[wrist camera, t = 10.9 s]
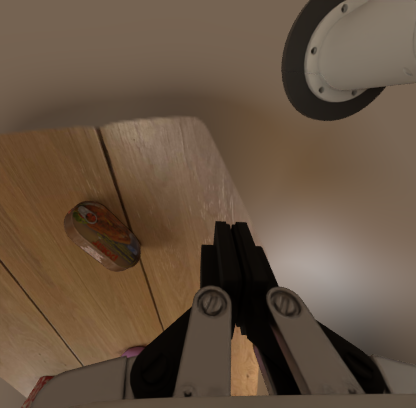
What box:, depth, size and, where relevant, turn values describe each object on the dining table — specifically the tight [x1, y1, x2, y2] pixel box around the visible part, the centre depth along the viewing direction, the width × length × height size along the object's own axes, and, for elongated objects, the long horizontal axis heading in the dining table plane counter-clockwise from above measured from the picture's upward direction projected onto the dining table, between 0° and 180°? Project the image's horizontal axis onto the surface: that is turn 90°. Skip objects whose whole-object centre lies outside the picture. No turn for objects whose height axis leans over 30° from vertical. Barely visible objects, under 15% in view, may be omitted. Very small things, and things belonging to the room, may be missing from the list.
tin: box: [64, 201, 141, 272], centre depth 35 cm, size 15×3×8 cm, turn 32°
